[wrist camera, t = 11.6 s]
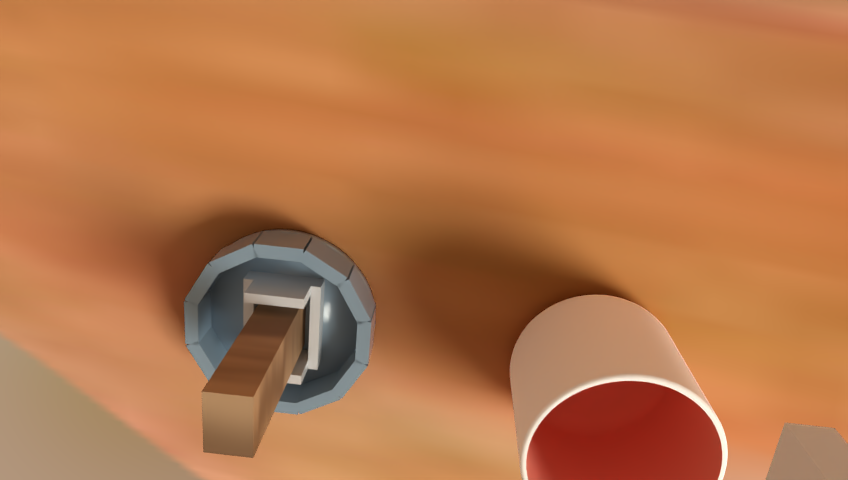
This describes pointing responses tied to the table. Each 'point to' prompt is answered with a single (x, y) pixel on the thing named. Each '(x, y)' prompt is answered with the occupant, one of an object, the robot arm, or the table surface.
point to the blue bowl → (287, 287)
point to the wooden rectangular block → (251, 380)
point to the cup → (609, 398)
